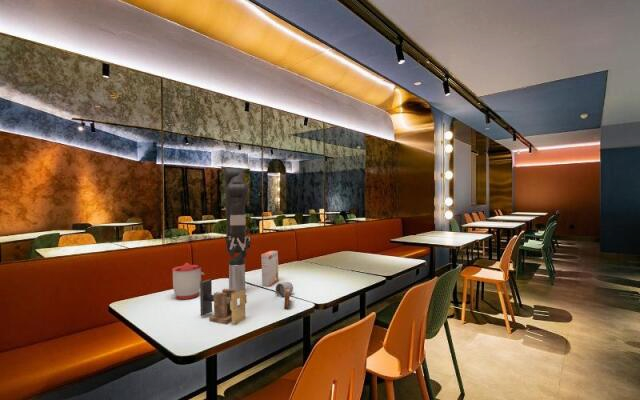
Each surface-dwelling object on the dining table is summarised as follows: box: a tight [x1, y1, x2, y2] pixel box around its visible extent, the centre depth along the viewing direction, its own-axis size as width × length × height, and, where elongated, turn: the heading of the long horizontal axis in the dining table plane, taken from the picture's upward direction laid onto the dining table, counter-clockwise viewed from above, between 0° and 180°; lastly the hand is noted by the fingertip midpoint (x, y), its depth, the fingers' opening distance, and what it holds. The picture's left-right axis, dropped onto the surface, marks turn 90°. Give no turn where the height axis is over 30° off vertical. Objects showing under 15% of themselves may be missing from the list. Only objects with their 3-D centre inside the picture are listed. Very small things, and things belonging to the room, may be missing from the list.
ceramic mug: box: [274, 281, 294, 298], centre depth 185 cm, size 11×8×8 cm
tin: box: [283, 288, 291, 309], centre depth 167 cm, size 15×3×8 cm, turn 5°
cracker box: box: [260, 250, 279, 287], centre depth 209 cm, size 14×6×21 cm, turn 163°
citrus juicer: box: [172, 262, 205, 301], centre depth 184 cm, size 16×17×20 cm
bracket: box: [208, 288, 235, 325], centre depth 149 cm, size 10×10×13 cm
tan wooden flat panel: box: [230, 288, 248, 326], centre depth 146 cm, size 2×10×14 cm, turn 157°
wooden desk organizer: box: [199, 279, 232, 317], centre depth 150 cm, size 16×6×16 cm, turn 67°
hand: (238, 257), depth 157 cm, fingers open, 6 cm apart
